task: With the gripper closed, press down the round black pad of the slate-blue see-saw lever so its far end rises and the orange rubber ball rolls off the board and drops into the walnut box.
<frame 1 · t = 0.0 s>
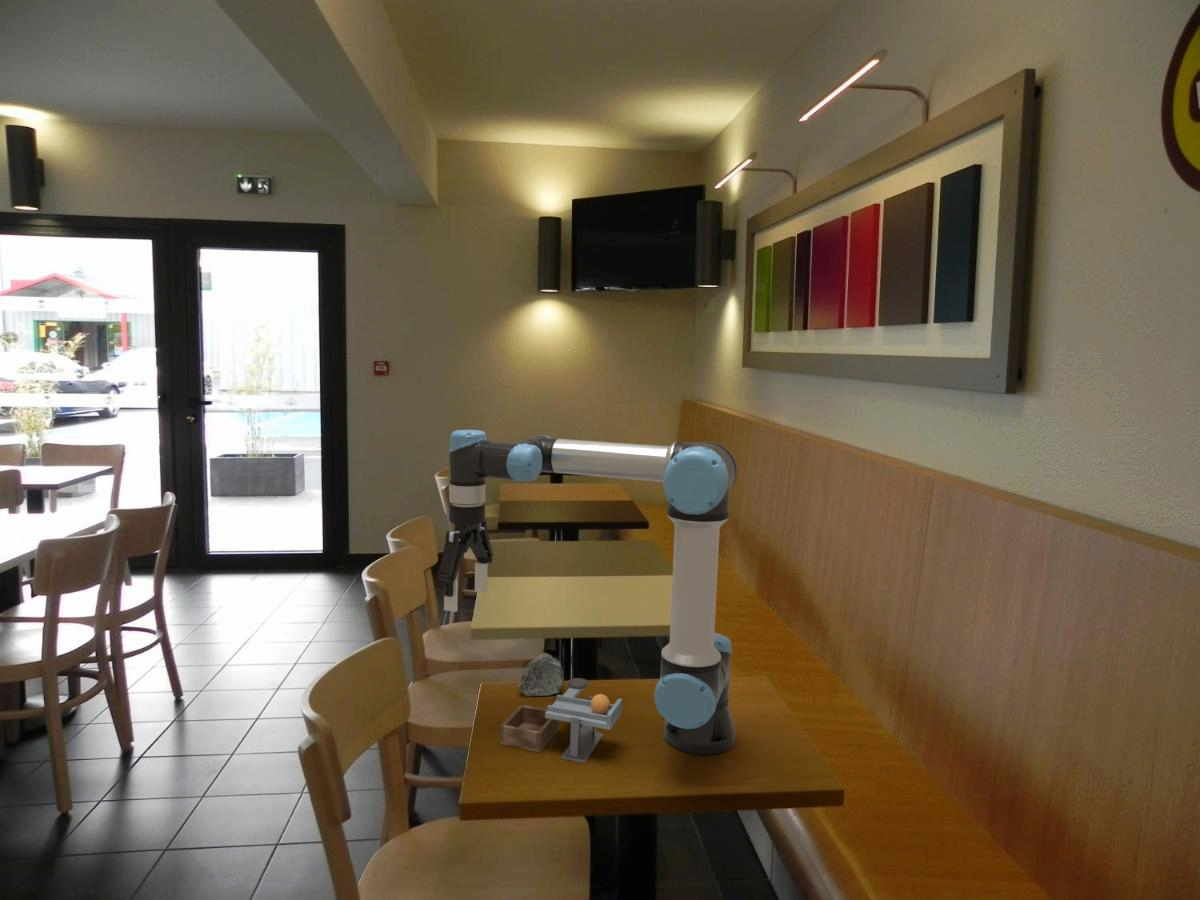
hand: (466, 601, 168), 28 cm above the table, fingers open, 13 cm apart
ball: (599, 713, 161), point 8 cm above the table, touching seesaw
tray: (529, 736, 167), on the table
seesaw: (589, 698, 167), point 9 cm above the table, hinge at 0.0°, touching ball
stone: (543, 691, 190), on the table
pivot stand: (582, 746, 163), on the table
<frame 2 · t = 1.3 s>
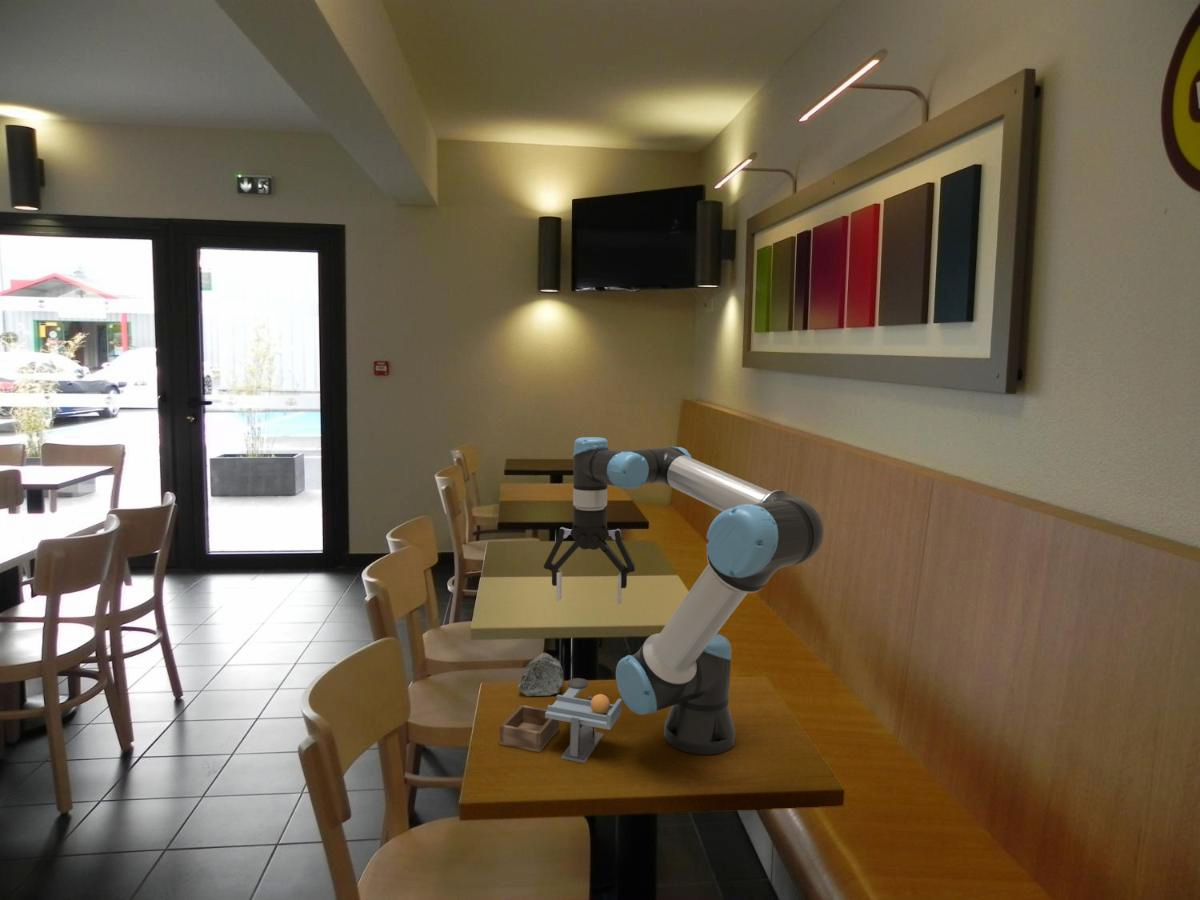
hand: (589, 601, 175), 26 cm above the table, fingers open, 13 cm apart
nothing on the table moved.
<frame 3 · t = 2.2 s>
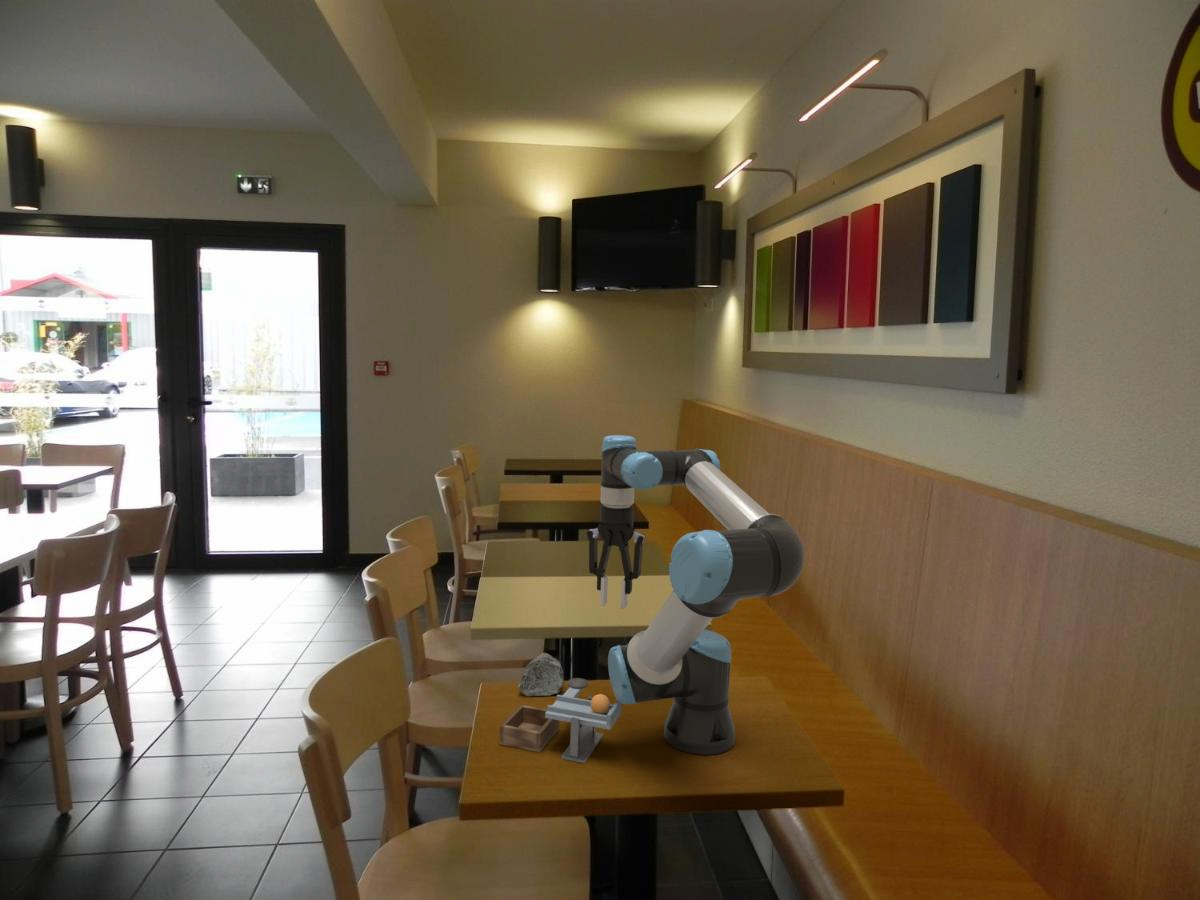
hand: (613, 605, 178), 25 cm above the table, fingers open, 4 cm apart
nothing on the table moved.
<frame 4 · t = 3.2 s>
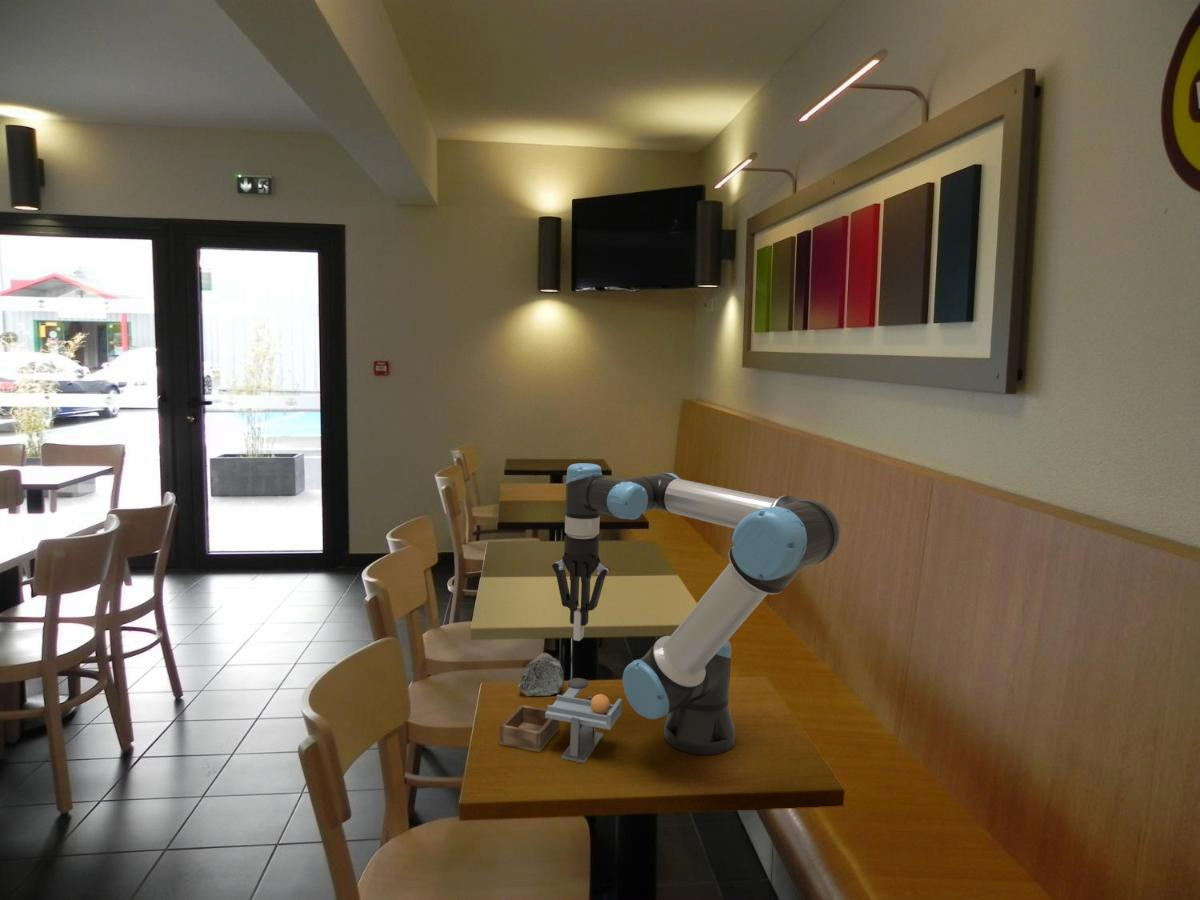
hand: (578, 638, 174), 19 cm above the table, fingers closed
nothing on the table moved.
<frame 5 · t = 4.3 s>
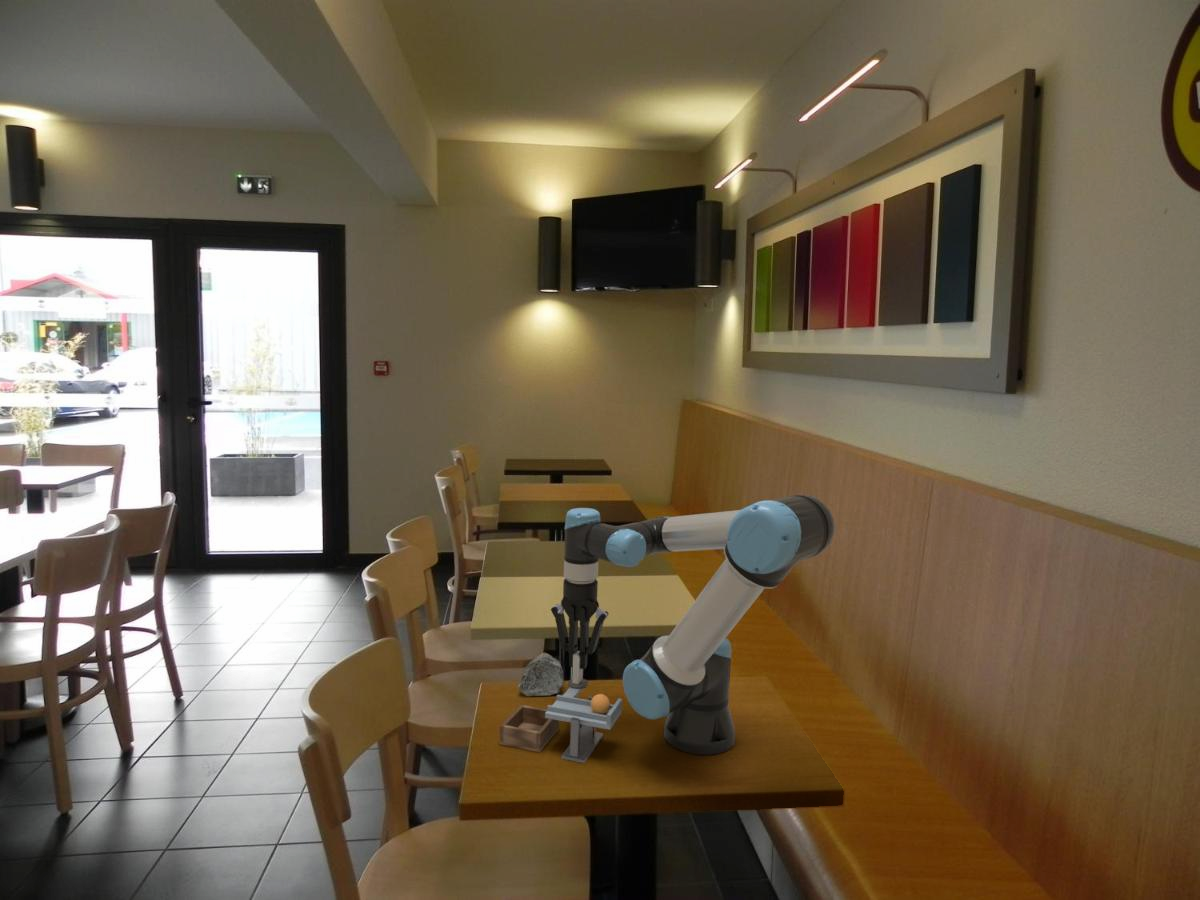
hand: (577, 681, 175), 9 cm above the table, fingers closed
ball: (599, 713, 161), point 8 cm above the table
seesaw: (589, 698, 167), point 8 cm above the table, hinge at 0.1°, touching gripper
everything else where it was.
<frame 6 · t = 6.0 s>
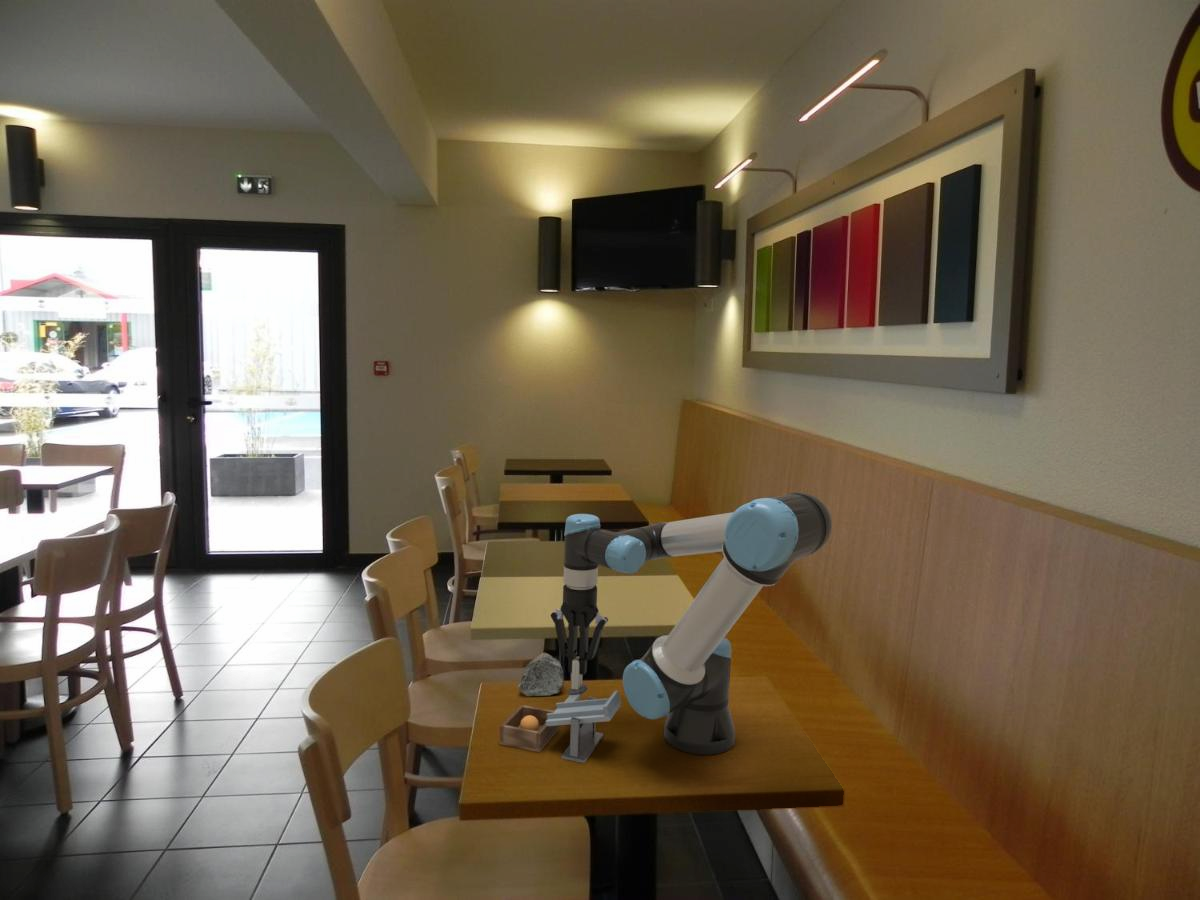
hand: (576, 686, 175), 7 cm above the table, fingers closed
ball: (537, 722, 166), point 3 cm above the table, tilted 115°, touching tray
seesaw: (588, 699, 167), point 8 cm above the table, hinge at 15.0°, touching gripper
everything else where it was.
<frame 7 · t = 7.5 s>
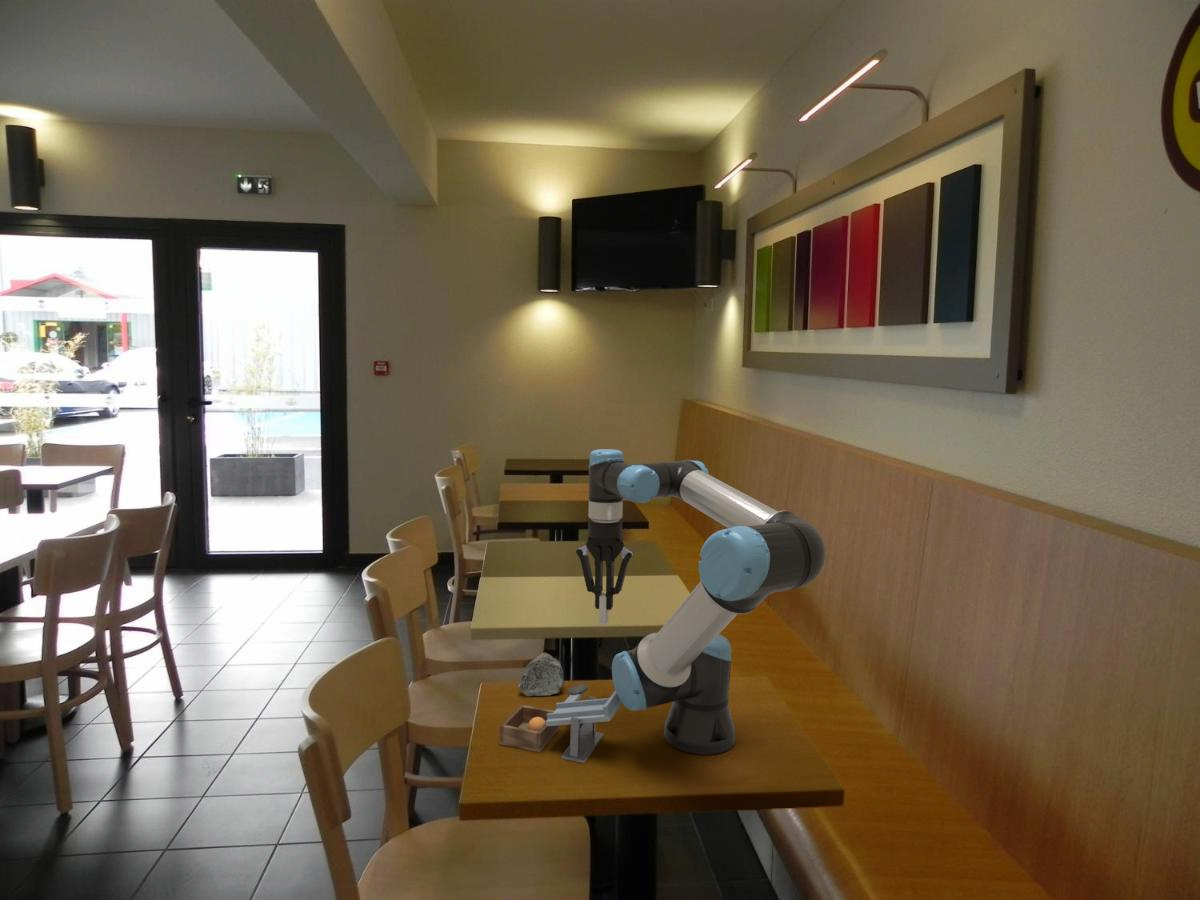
hand: (603, 622, 175), 22 cm above the table, fingers closed
ball: (545, 732, 166), point 2 cm above the table, tilted 63°, touching tray
seesaw: (588, 699, 167), point 8 cm above the table, hinge at 15.0°
everything else where it was.
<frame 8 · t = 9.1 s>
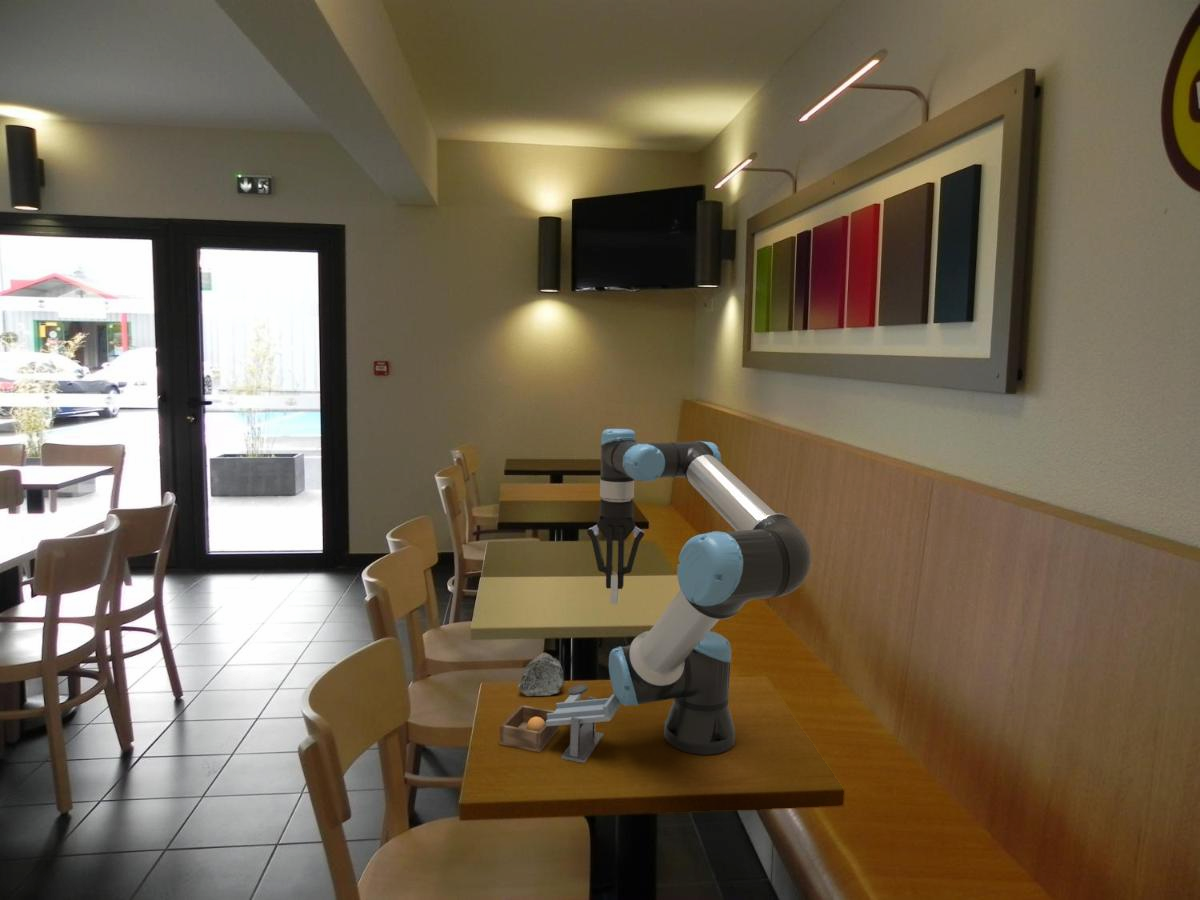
hand: (614, 602, 176), 26 cm above the table, fingers closed
ball: (544, 731, 166), point 2 cm above the table, tilted 70°, touching tray
seesaw: (588, 699, 167), point 8 cm above the table, hinge at 15.1°, touching arm
everything else where it was.
at the end: ball inside the target area on the tray (3.3 cm from its centre), point 1.8 cm above the tray's base; ball touching tray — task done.
